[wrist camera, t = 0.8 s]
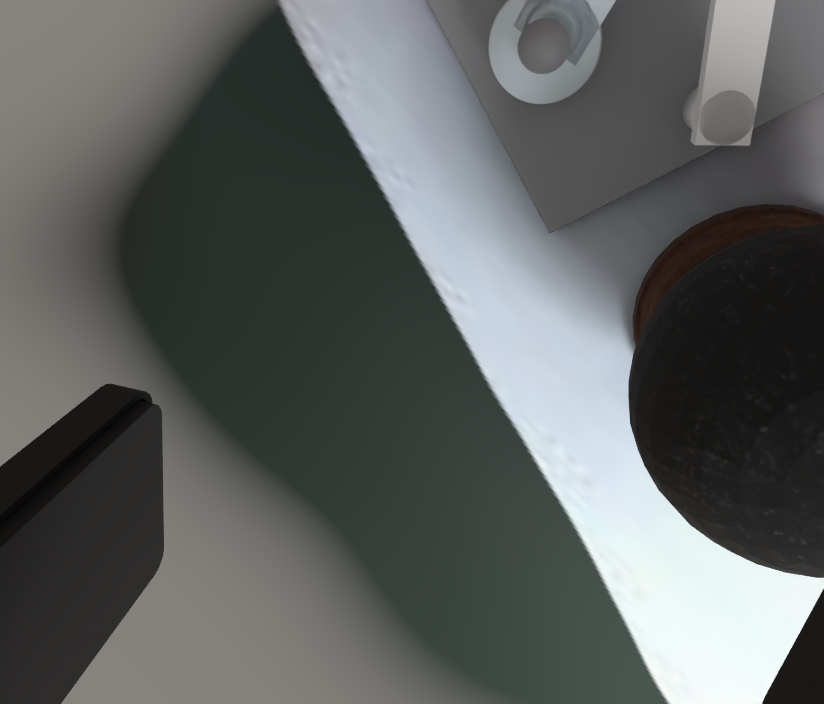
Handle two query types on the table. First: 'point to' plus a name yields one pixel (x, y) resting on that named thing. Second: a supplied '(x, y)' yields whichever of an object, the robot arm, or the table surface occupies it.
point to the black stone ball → (738, 382)
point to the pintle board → (645, 92)
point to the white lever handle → (546, 46)
